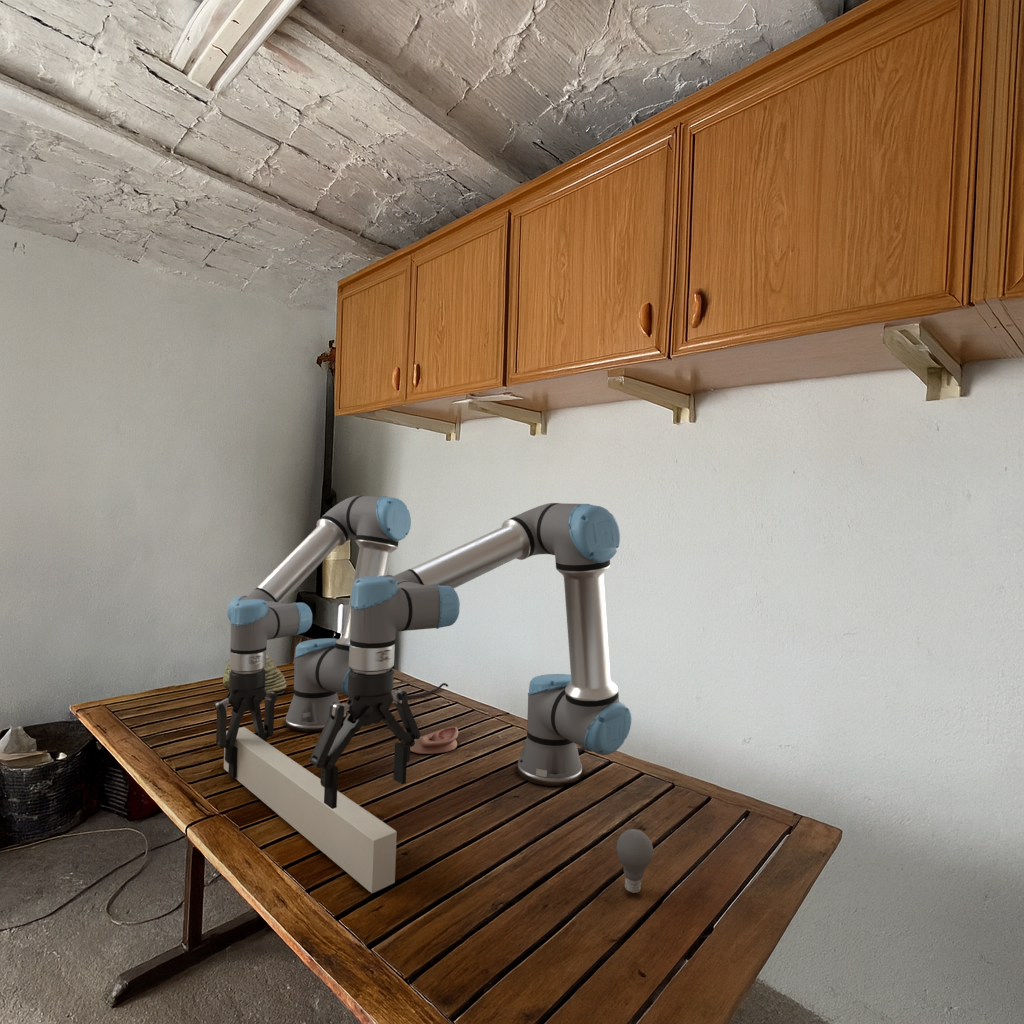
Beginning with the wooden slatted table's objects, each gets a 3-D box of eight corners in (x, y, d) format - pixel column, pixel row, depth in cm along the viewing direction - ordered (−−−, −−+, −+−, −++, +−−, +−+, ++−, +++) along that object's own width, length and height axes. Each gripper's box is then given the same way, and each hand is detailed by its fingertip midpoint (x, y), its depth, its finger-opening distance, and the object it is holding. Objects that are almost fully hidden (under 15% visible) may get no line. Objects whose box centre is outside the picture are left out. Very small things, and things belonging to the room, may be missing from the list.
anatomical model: (398, 735, 159) (414, 720, 170) (398, 751, 159) (414, 734, 170) (449, 741, 156) (462, 725, 167) (448, 757, 156) (461, 740, 168)
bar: (223, 768, 145) (224, 731, 145) (243, 763, 148) (244, 726, 148) (371, 894, 102) (373, 840, 102) (394, 882, 105) (397, 831, 105)
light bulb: (610, 879, 108) (613, 822, 108) (644, 879, 109) (647, 822, 109) (619, 902, 102) (622, 840, 102) (655, 901, 103) (658, 840, 103)
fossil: (218, 695, 195) (220, 647, 195) (278, 685, 208) (279, 640, 207) (228, 703, 189) (230, 653, 188) (289, 692, 201) (290, 645, 201)
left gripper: (213, 680, 133) (209, 790, 134) (292, 666, 146) (289, 767, 146) (200, 672, 138) (197, 777, 139) (278, 660, 151) (274, 757, 151)
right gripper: (314, 687, 96) (308, 826, 96) (442, 662, 113) (438, 779, 114) (291, 675, 101) (286, 807, 101) (417, 653, 119) (413, 765, 119)
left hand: (244, 772), depth 142 cm, fingers closed on bar, 4 cm apart
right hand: (366, 793), depth 108 cm, fingers open, 13 cm apart
